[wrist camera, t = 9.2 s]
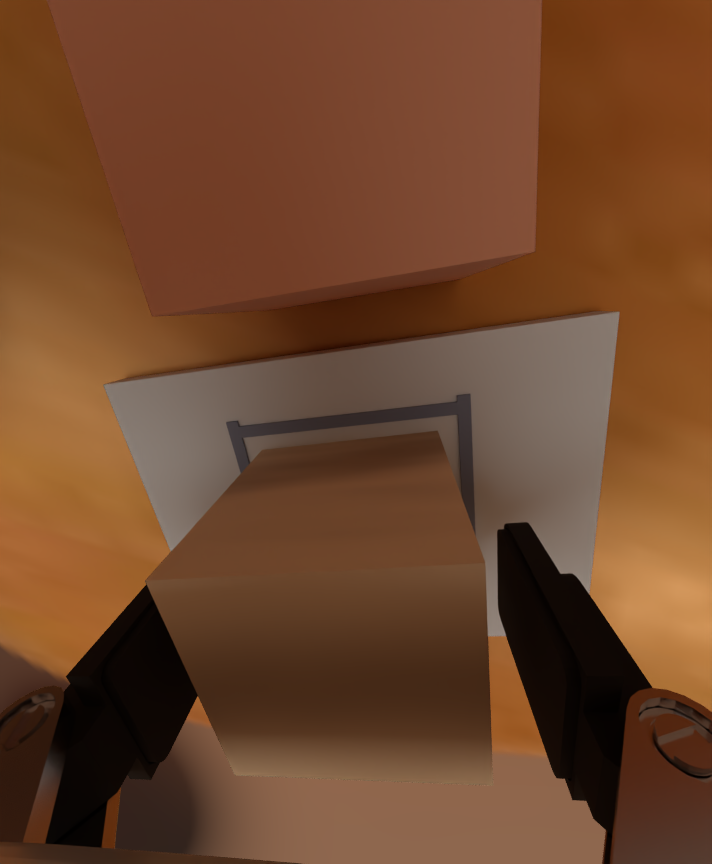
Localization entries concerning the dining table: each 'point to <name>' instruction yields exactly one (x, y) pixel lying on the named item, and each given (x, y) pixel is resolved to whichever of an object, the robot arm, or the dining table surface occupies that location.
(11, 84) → the dining table surface
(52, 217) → the dining table surface
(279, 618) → the birch block
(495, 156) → the rust block
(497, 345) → the board
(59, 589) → the dining table surface
